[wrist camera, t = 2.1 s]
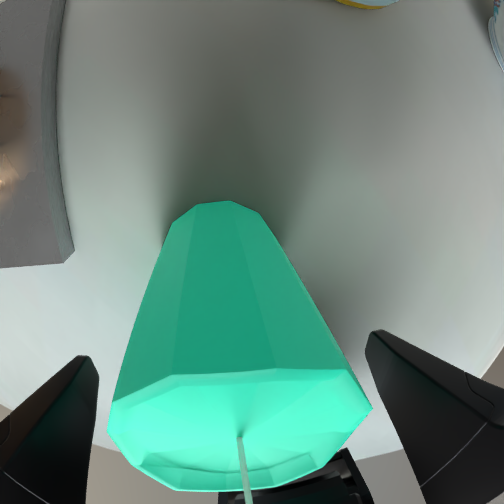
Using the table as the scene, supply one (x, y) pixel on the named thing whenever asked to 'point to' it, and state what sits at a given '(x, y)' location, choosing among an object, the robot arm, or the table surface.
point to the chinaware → (497, 31)
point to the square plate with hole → (30, 136)
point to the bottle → (368, 3)
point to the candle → (230, 364)
